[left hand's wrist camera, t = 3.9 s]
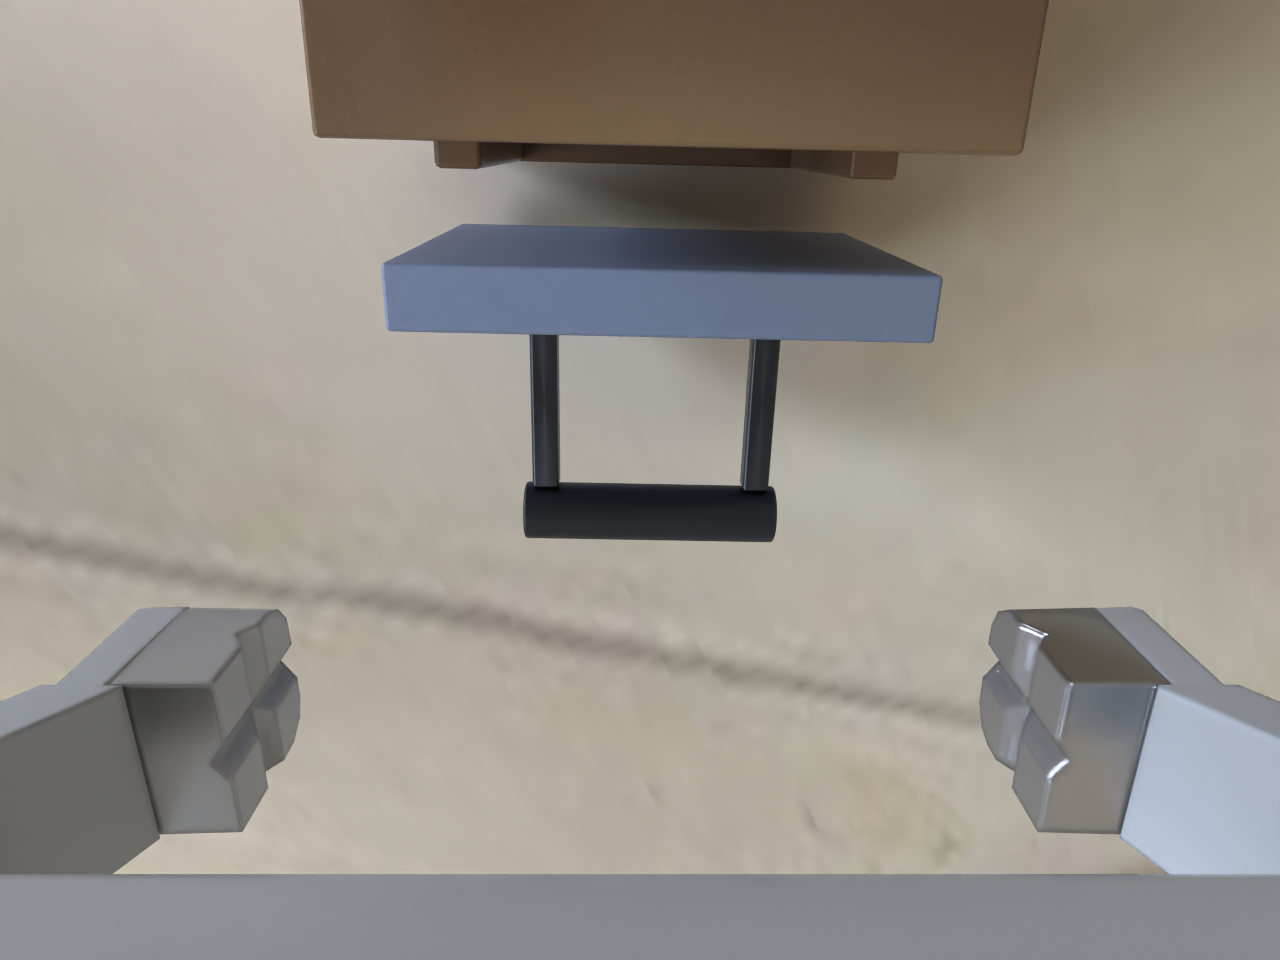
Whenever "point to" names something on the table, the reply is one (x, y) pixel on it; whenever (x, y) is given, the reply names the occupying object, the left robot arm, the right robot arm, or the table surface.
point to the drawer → (658, 319)
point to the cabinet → (678, 72)
